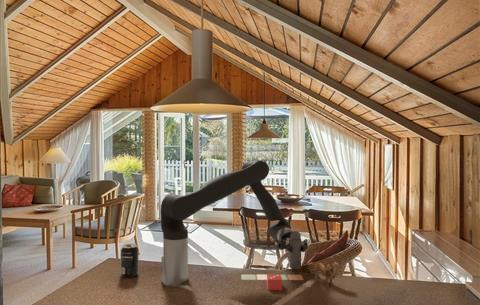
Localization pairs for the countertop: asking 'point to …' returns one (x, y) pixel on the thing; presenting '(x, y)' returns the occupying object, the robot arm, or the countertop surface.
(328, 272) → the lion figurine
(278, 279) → the red die
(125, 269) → the beverage can
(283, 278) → the game board
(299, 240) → the grey cylinder
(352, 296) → the countertop surface
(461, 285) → the countertop surface
